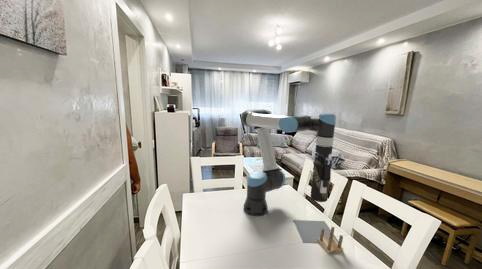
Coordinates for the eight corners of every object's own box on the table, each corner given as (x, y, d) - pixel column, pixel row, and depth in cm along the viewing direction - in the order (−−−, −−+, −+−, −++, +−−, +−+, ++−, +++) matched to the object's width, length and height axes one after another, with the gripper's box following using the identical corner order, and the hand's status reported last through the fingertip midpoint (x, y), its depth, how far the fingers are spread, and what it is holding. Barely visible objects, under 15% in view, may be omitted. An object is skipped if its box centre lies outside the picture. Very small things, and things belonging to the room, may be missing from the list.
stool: (327, 254, 88) (330, 240, 86) (317, 241, 95) (319, 228, 93) (342, 251, 90) (345, 237, 88) (331, 238, 97) (333, 225, 95)
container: (307, 198, 99) (310, 160, 96) (313, 192, 106) (316, 157, 103) (324, 204, 94) (329, 165, 90) (329, 198, 101) (334, 160, 97)
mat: (303, 243, 94) (303, 242, 94) (293, 221, 112) (293, 220, 112) (340, 244, 94) (340, 243, 94) (324, 221, 112) (324, 221, 112)
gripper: (342, 150, 85) (336, 199, 89) (323, 141, 105) (318, 180, 109) (325, 150, 85) (320, 198, 89) (309, 140, 105) (305, 180, 109)
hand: (319, 188), depth 99 cm, fingers closed on container, 8 cm apart
